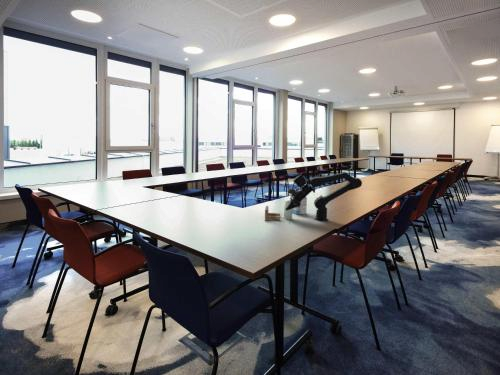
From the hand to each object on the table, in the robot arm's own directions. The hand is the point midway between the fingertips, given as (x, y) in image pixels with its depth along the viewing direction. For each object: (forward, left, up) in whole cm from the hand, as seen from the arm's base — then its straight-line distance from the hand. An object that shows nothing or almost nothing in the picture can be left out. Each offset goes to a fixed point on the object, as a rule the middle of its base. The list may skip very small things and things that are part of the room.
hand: (286, 208), depth 199 cm
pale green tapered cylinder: (-1, -1, -7) cm, 7 cm away
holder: (+5, +6, -7) cm, 10 cm away
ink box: (+9, -18, -7) cm, 21 cm away
